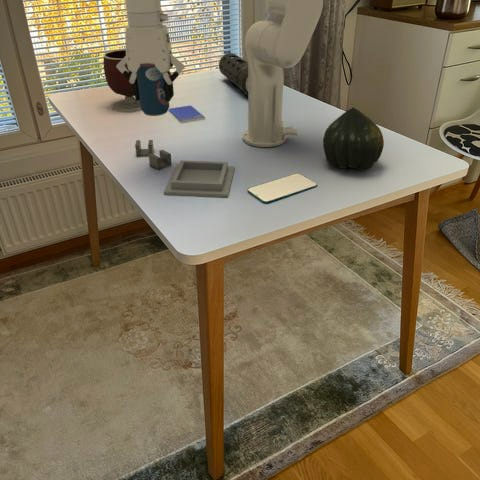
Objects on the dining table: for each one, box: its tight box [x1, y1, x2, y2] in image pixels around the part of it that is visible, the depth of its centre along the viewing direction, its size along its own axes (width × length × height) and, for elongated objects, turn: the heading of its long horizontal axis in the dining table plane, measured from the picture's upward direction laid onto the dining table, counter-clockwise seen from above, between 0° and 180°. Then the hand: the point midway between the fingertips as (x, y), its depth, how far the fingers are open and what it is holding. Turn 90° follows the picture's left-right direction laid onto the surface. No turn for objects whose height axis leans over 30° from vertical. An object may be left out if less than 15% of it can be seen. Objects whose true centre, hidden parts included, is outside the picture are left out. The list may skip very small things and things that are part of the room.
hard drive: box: [167, 105, 206, 124], centre depth 157 cm, size 2×8×12 cm
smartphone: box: [247, 173, 318, 205], centre depth 115 cm, size 8×1×16 cm
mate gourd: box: [102, 49, 142, 113], centre depth 160 cm, size 16×14×20 cm
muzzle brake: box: [218, 52, 249, 96], centre depth 178 cm, size 10×28×10 cm, turn 21°
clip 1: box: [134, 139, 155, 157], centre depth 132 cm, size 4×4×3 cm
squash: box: [322, 106, 385, 171], centre depth 123 cm, size 14×15×15 cm
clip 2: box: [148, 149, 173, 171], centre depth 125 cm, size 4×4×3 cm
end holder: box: [163, 160, 236, 198], centre depth 118 cm, size 15×15×3 cm
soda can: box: [136, 64, 170, 117], centre depth 115 cm, size 7×7×12 cm
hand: (154, 98), depth 117 cm, fingers closed on soda can, 6 cm apart
